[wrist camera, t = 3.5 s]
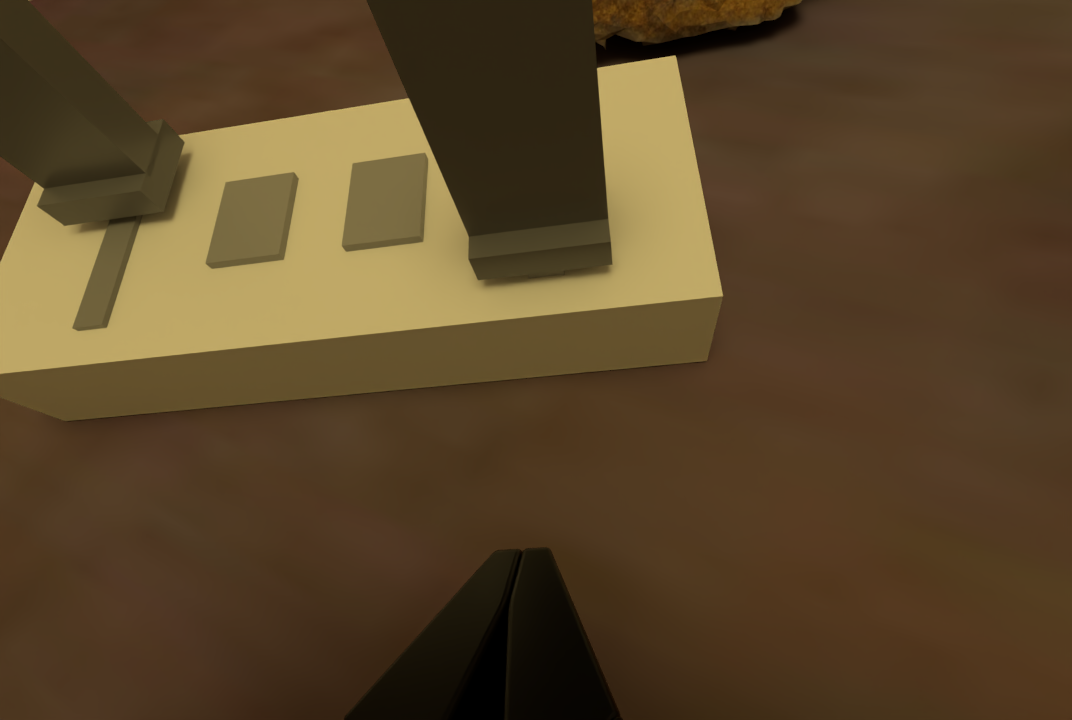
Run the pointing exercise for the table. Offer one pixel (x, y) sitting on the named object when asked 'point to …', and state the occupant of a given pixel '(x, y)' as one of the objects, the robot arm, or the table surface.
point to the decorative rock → (678, 17)
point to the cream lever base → (351, 271)
